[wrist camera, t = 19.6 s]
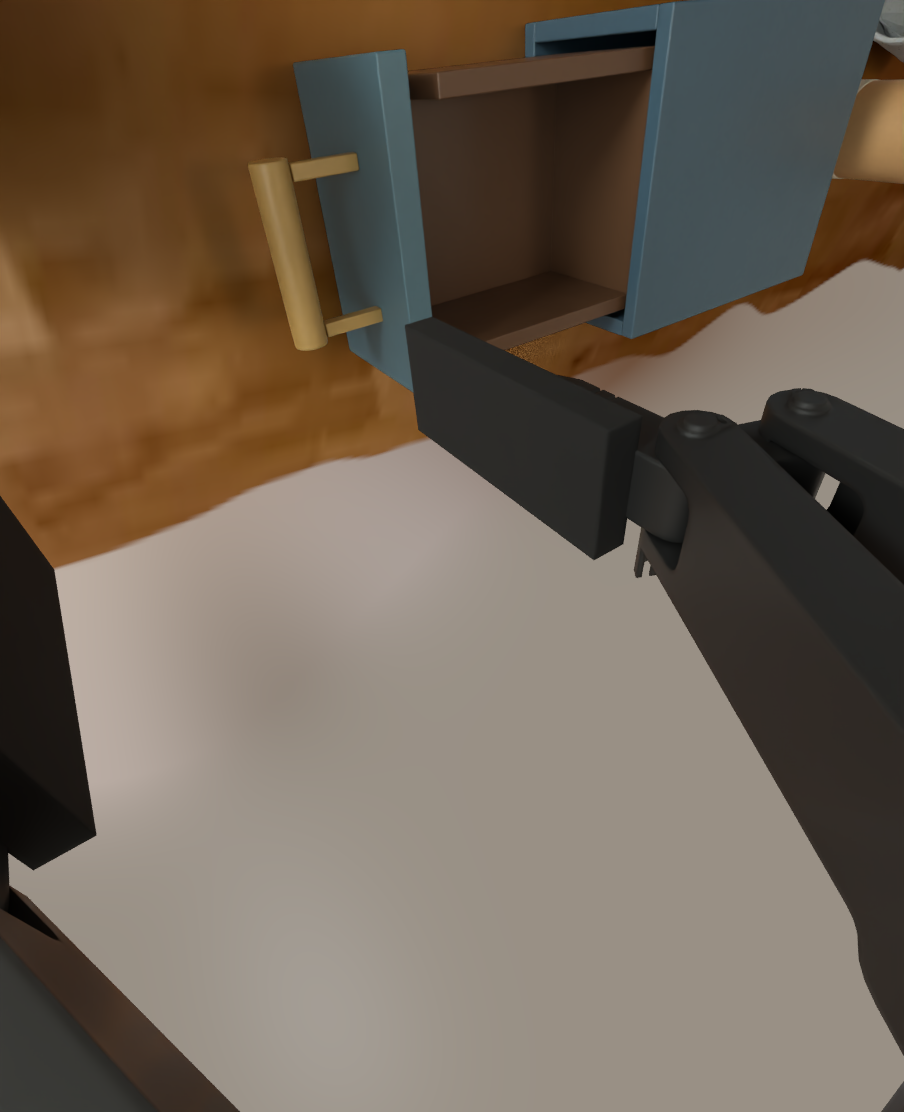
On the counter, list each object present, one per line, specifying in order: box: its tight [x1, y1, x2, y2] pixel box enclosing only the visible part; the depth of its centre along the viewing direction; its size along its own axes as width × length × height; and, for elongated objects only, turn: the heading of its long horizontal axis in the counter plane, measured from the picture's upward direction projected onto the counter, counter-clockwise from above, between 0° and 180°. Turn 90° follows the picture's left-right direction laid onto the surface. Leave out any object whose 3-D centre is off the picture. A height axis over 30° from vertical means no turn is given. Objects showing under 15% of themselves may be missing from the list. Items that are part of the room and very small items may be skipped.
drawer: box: [248, 45, 655, 393], centre depth 28 cm, size 19×12×8 cm, turn 97°
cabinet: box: [525, 0, 885, 339], centre depth 33 cm, size 16×14×10 cm
